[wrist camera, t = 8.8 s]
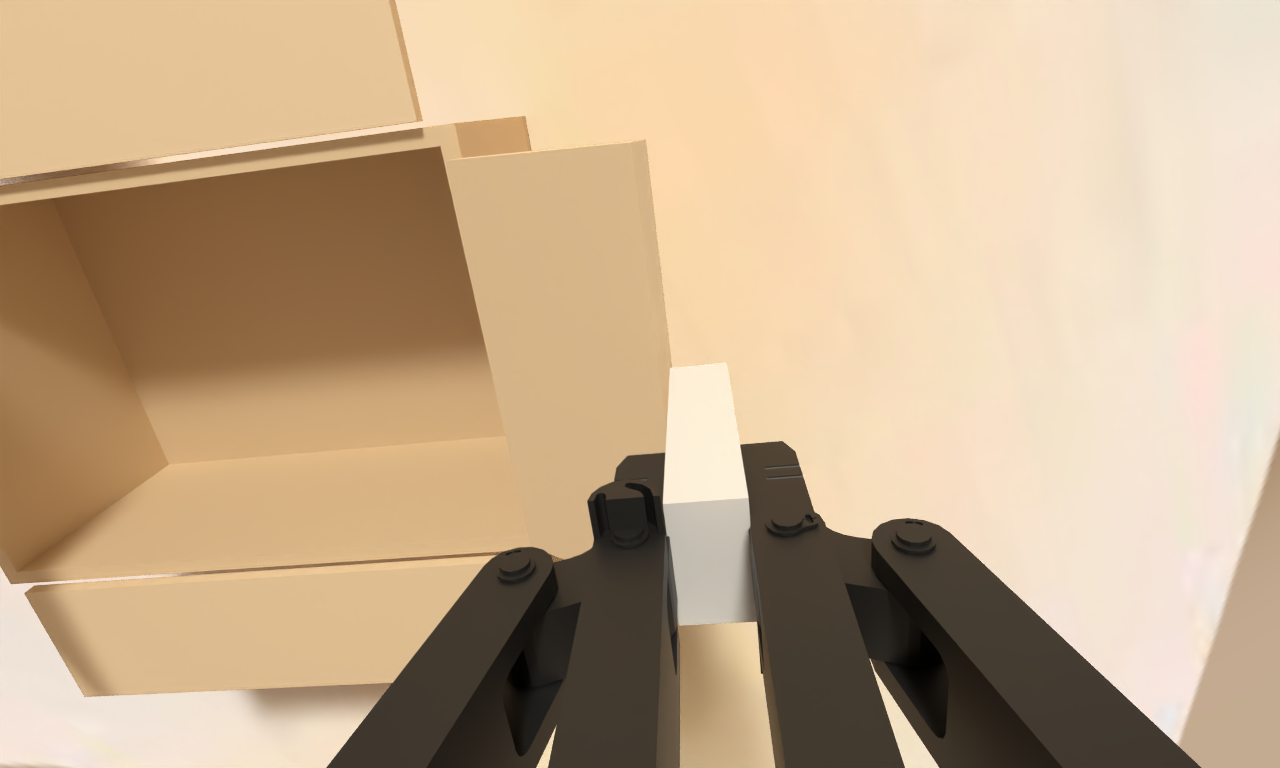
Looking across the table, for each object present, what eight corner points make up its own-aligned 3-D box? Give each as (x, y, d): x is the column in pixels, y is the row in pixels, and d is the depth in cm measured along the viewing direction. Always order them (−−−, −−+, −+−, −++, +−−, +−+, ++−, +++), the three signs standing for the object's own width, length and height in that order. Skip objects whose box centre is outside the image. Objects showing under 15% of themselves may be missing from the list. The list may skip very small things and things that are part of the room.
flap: (531, 547, 26) (688, 605, 22) (444, 160, 20) (631, 142, 16) (542, 538, 26) (698, 594, 22) (460, 158, 21) (645, 139, 17)
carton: (210, 558, 41) (64, 697, 32) (-19, 40, 31) (-344, 12, 21) (600, 531, 39) (571, 674, 29) (499, -45, 28) (400, -121, 18)
